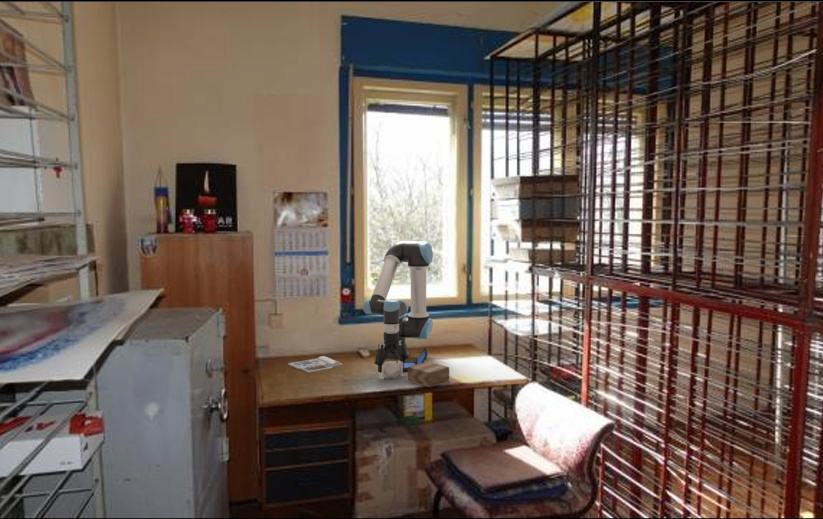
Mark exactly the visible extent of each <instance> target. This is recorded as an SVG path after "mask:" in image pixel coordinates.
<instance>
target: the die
mask: <svg viewBox="0 0 823 519" xmlns="http://www.w3.org/2000/svg"><path fill="white" fill-rule="evenodd" d="M383 366H384V379H387V380H388V379H392V380H394V379H397V378H398V375H399V374H398V373H399V367H398V361H396V360H395V361H394V360H393V361H390V360H389V361H384V364H383Z"/></svg>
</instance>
